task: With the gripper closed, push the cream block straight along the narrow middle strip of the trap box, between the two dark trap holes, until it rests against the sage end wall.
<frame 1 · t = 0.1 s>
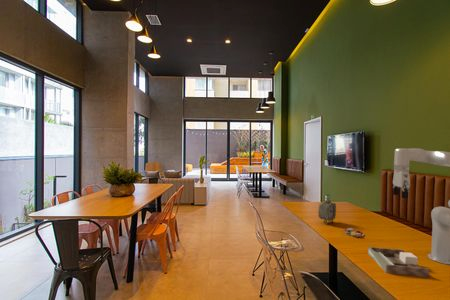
hand: (400, 196, 150), 37 cm above the table, tool pointing down, fingers open, 9 cm apart
trap box: (395, 264, 139), on the table
cream block: (408, 261, 138), point 2 cm above the table, touching trap box
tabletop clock: (326, 223, 212), on the table
toy food set: (353, 234, 186), on the table
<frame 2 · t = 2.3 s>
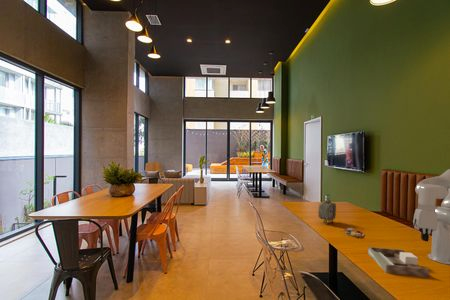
hand: (424, 240, 136), 15 cm above the table, tool pointing down, fingers closed
nothing on the table moved.
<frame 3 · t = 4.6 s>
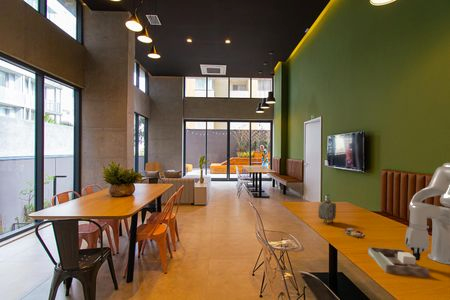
hand: (416, 259, 137), 4 cm above the table, tool pointing down, fingers closed
cream block: (406, 261, 138), point 2 cm above the table, touching gripper
everything else where it was.
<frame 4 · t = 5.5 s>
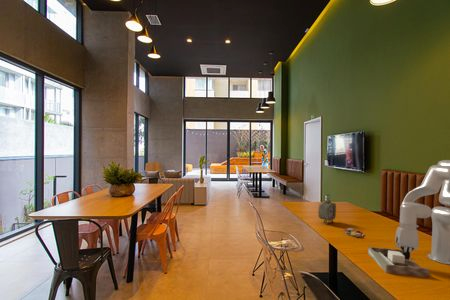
hand: (406, 258, 138), 4 cm above the table, tool pointing down, fingers closed
cream block: (395, 260, 140), point 2 cm above the table
everything else where it was.
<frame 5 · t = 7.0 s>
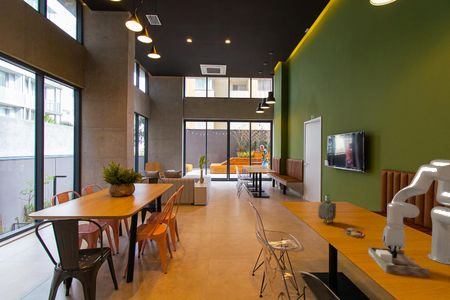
hand: (393, 257, 139), 4 cm above the table, tool pointing down, fingers closed
cream block: (383, 259, 141), point 2 cm above the table, touching gripper, trap box
everything else where it was.
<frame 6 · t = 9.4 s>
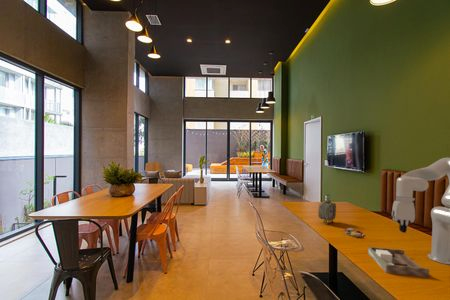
hand: (402, 231, 138), 19 cm above the table, tool pointing down, fingers closed
cream block: (383, 259, 141), point 2 cm above the table, touching trap box
everything else where it was.
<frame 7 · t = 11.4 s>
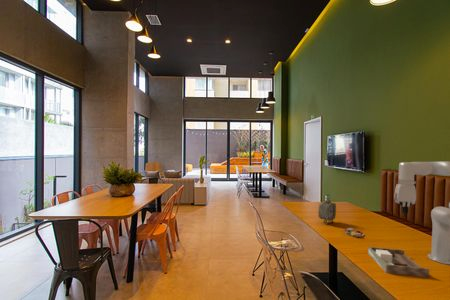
hand: (404, 212, 148), 27 cm above the table, tool pointing down, fingers closed
nothing on the table moved.
at the end: cream block 0.9 cm from the target spot on the trap box, point 2.0 cm above the trap box's base; cream block tilted 0° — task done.
